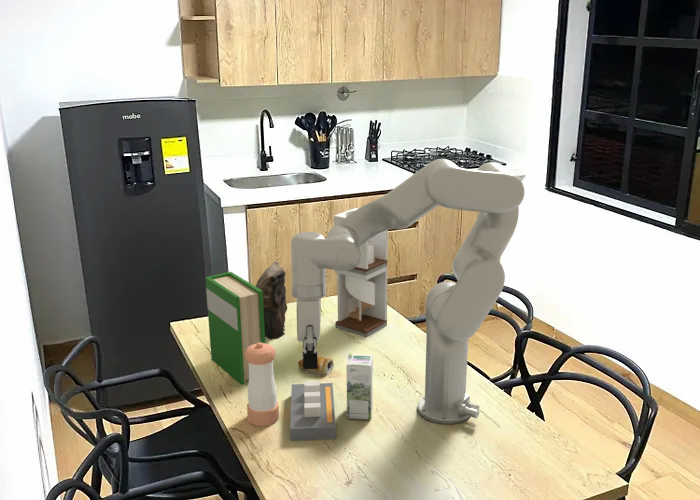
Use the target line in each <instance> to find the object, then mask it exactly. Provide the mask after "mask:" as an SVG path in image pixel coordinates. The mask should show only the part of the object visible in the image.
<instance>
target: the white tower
mask: <svg viewBox="0 0 700 500" xmlns="http://www.w3.org/2000/svg"><path fill="white" fill-rule="evenodd" d="M359 208H360V207H355V208H352V209H348V210H346V211H343V212H340V213H337V214H334V215H333V227H334V226H335V225H336V224H338V223H339V222H340V221H342V220H343V219H344V218H346V217H347V216H348V215H350V214H351V213H353V212H354V211H356V210H357V209H359ZM388 236H389V230H386V231H383V232H381V233H379V234H377V235H375V236H374V237H372V238H371V239H369V240H368V241H366V242H365V243H364V244H362V245H361V250H362V259H361V261H360V263H359V265H358V266H357V267H355V268H354V269H352V270H348V271H339V270H334V273H335V274H336V280H337V281H336V282H337V283H336V284H337V286H336V287H337V288H336V289H337V294H336V295H337V320H336V321H335V325H334V326H335V327H334V328H335V329H336V330H340V331H343V332H347V333H350V334H353V335H356V336H360V337H363V338H369V337H370V336H372V335H373V334H375V333H377V332H378V331H381V330H382V329H384V328H385V327H387V326H388V267H389V266H388V258H389V257H388V256H389V255H388V252H389V251H388V248H389V238H388Z"/></svg>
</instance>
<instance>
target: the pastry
mask: <svg viewBox="0 0 700 500" xmlns="http://www.w3.org/2000/svg"><path fill="white" fill-rule="evenodd" d="M317 362H318V368H317V369H303V358H301V359H300V360H298V361H297V366H298V368H299V369H300V370H302V371H304V372H305V373H307V374H309V375H310V374H311V375H314V376H317V377H318V376H320V377H326V376H328V375H329V374H330V373H331V371H332V370H333V369H334V368H335V363H334V361H333V358H331V357H325V356H323V355H322V356H321V355H319V356H318V355H317Z"/></svg>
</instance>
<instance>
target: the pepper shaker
mask: <svg viewBox="0 0 700 500" xmlns="http://www.w3.org/2000/svg"><path fill="white" fill-rule="evenodd" d="M276 355H277V351H276V349H275V348H274V346H272V345H271V344H269V343H266V342H265V343H261V342H259V343H257V344H253V345H251V346H249V347H248V348H247V350H246V351H245V358H246V360H247V361H248V362H249V379H248V385H247V398H248V399H247V401H248V403H247V405H246V407H247V408H246V410H247V421H248V423H249V424H252V425H253V426H257V427H267V426H271V425H274V424H275V423H277V422H278V421H279V418H280V408H279V407H280V405H279V401H278V392H277V391H278V390H277V386H276V381H275V376H274V363H273V361H274V360H275V358H276Z"/></svg>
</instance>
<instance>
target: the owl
mask: <svg viewBox="0 0 700 500" xmlns="http://www.w3.org/2000/svg"><path fill="white" fill-rule="evenodd" d="M285 283H286V271H285V270H284V268H283V267H281V266H280V265H279V263H278V262H277V261H276V260H275V261H274V262H273V263H271V265H270V266H269V267H268V268H266V269H265V270H264V271H263V273H262V274H261V275H260V277H259V279H257V282H256V284H255V287H257V288H259V289H260V290H262V291H263V306H264V327H265V339H269V340H278V339H280V338H281V337H284V336H285V335H286V333H285V331H286V329H285V327H286V326H285V323H286V313H287V311H288V304H287V298H286V291H287V289H286V286H285Z"/></svg>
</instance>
